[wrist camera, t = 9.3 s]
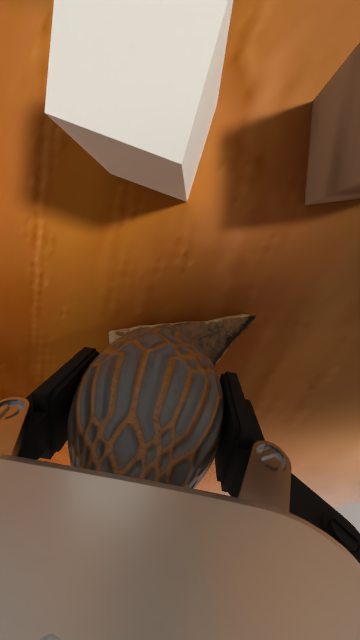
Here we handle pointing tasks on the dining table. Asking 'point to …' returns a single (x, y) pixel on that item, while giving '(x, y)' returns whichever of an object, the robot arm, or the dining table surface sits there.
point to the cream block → (138, 84)
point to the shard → (203, 332)
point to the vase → (148, 410)
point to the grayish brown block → (336, 137)
